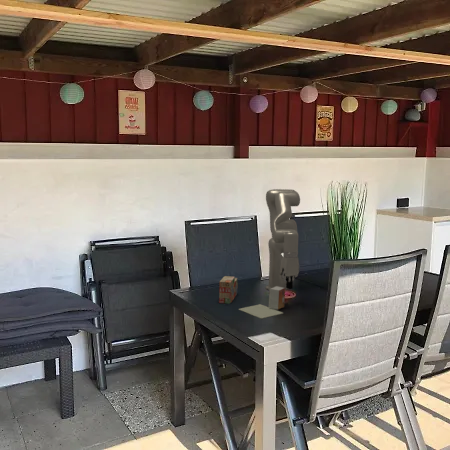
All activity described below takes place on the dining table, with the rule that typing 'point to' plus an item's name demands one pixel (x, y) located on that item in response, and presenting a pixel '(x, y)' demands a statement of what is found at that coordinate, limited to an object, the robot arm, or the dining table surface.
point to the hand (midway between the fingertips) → (289, 288)
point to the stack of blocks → (228, 289)
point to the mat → (260, 311)
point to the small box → (276, 297)
